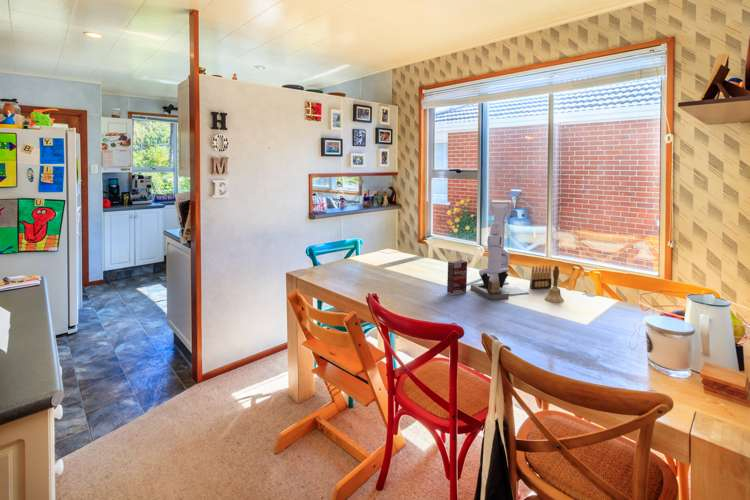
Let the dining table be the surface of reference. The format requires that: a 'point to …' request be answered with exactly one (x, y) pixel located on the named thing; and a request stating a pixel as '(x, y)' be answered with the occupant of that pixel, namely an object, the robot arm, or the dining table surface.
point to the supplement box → (457, 277)
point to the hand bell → (554, 289)
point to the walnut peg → (493, 286)
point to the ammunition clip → (540, 278)
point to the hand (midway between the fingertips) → (493, 288)
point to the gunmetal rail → (491, 296)
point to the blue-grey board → (514, 291)
